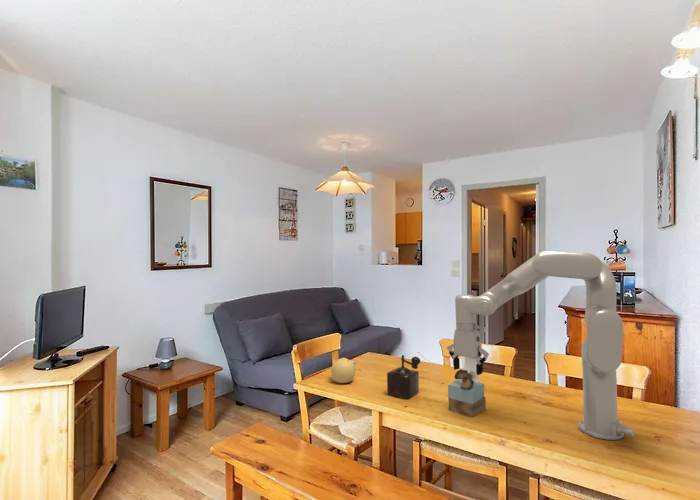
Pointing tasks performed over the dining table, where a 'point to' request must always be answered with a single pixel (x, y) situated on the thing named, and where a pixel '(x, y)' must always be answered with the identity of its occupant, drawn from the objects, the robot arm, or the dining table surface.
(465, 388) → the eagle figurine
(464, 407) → the tower base
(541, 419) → the dining table surface
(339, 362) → the sculpture
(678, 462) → the dining table surface
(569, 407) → the dining table surface
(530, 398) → the dining table surface
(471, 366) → the pepper shaker
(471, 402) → the tower top
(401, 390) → the manual coffee grinder
